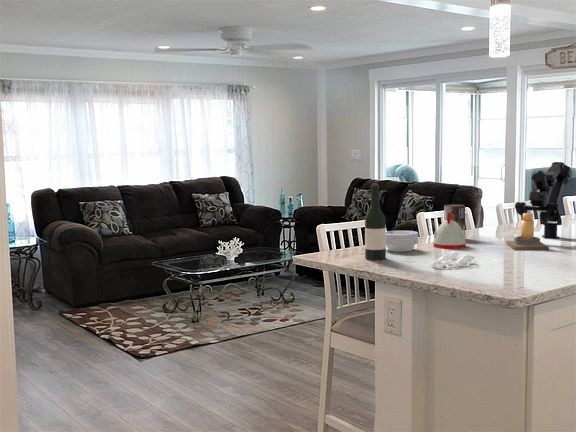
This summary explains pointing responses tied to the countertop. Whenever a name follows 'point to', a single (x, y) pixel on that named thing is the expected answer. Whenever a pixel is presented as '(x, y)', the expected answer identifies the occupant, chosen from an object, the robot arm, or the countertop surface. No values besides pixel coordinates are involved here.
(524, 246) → the peg board base
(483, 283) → the countertop surface
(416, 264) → the countertop surface
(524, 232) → the wooden peg doll
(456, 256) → the crumpled white cloth
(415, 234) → the paper bowls
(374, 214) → the wine bottle
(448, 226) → the kitchen timer
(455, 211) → the coffee box
